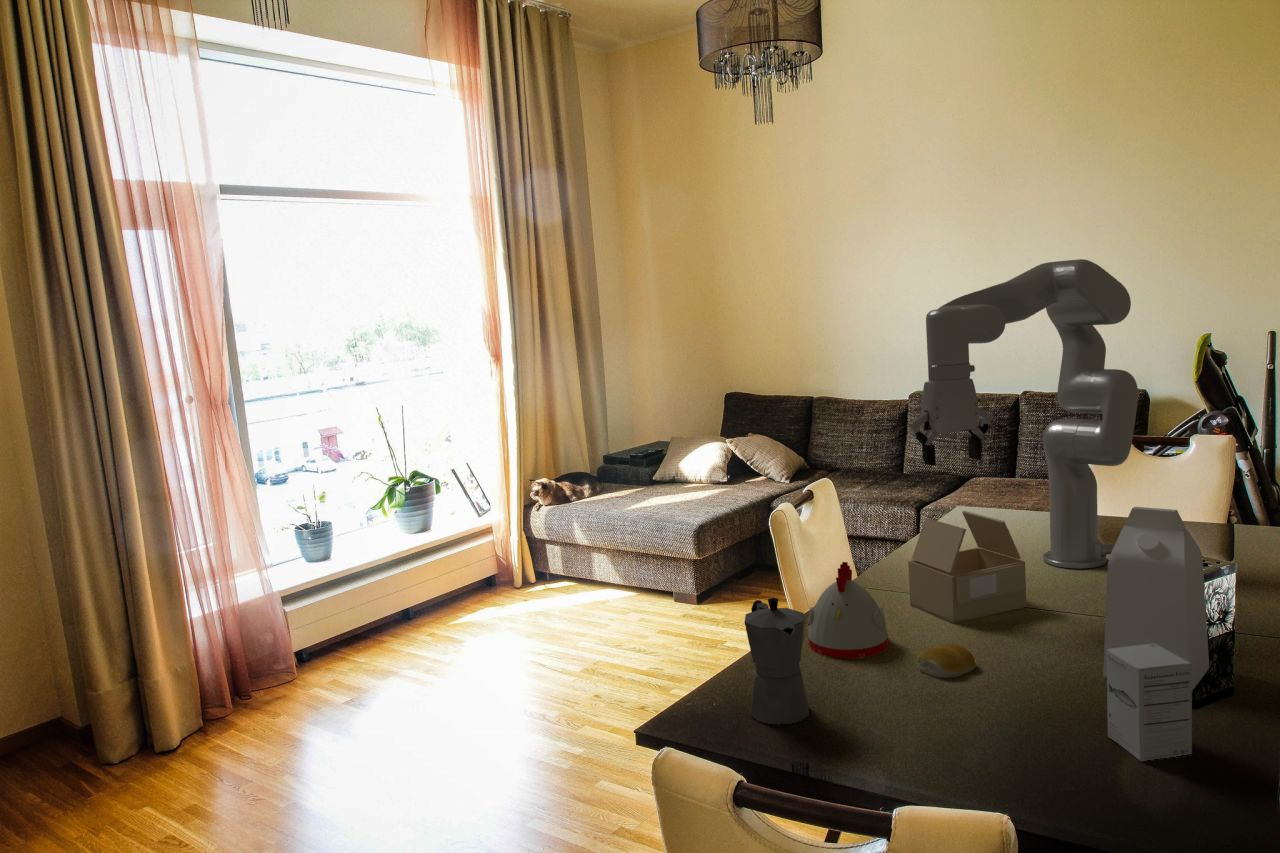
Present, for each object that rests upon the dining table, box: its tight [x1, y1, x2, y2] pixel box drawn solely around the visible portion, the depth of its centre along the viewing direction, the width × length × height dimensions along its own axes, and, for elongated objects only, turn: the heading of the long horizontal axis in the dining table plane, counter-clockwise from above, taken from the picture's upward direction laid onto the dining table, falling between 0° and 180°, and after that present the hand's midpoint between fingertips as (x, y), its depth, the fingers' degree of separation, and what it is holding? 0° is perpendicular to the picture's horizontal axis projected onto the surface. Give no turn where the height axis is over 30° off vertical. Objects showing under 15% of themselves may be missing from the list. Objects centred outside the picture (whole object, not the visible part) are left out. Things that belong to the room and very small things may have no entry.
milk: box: [1102, 506, 1210, 692], centre depth 144 cm, size 12×12×26 cm
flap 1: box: [911, 517, 967, 573], centre depth 178 cm, size 1×11×9 cm, turn 21°
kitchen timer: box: [807, 561, 889, 659], centre depth 166 cm, size 14×14×15 cm
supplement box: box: [1106, 644, 1193, 762], centre depth 122 cm, size 7×7×13 cm
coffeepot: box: [744, 597, 810, 726], centre depth 142 cm, size 15×9×18 cm, turn 13°
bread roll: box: [916, 643, 976, 679], centre depth 153 cm, size 8×9×4 cm
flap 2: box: [961, 510, 1022, 560], centre depth 182 cm, size 1×11×9 cm, turn 21°
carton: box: [907, 546, 1027, 625], centre depth 181 cm, size 17×14×9 cm
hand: (952, 461), depth 180 cm, fingers open, 9 cm apart
